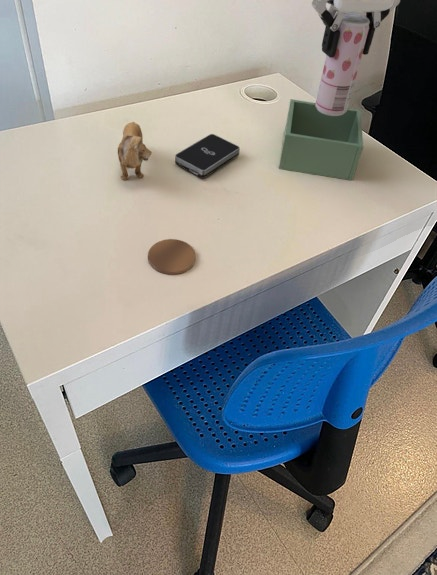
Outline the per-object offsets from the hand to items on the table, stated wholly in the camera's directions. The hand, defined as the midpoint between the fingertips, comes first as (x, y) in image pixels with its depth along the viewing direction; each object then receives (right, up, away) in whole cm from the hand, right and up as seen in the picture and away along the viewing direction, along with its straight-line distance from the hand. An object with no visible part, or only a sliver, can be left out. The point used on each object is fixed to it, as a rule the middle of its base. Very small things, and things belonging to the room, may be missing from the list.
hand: (344, 51), depth 81 cm
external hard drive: (-23, -15, +10) cm, 29 cm away
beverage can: (-1, -7, +7) cm, 10 cm away
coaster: (-28, -34, -8) cm, 45 cm away
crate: (-2, -13, +15) cm, 20 cm away
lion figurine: (-36, -18, +7) cm, 40 cm away
